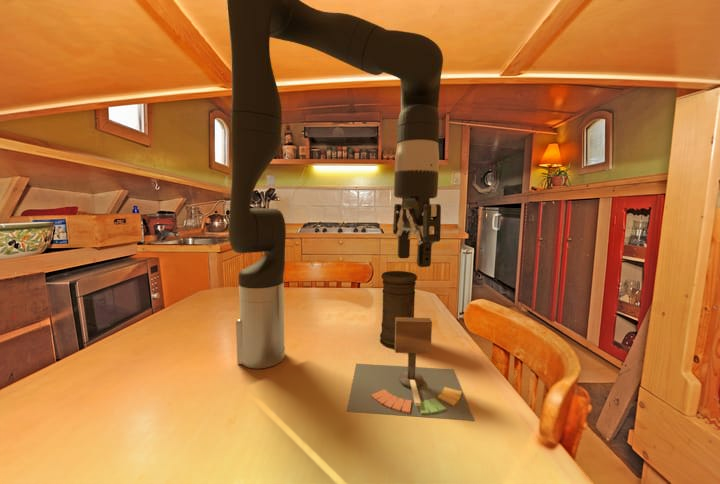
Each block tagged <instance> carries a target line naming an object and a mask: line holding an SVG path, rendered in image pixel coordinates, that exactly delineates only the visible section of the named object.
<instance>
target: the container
mask: <svg viewBox="0 0 720 484" xmlns="http://www.w3.org/2000/svg"><path fill="white" fill-rule="evenodd" d="M417 276H418V275H417V274H416V273H414V272H410V271H403V270H389V271H385V272H382V273H381V277H380V278H381V279H382V285H383V286H382V316H381V317H382V319H381V324H380V325H381V333H380V334H379V338H380V339H379V342H380V344H381V345H382V346H383V347H385V348H388V349H391V350H395V317H407V318H415V296H416V290H415V288H416V284H417V282H416V281H417V280H418V277H417Z"/></svg>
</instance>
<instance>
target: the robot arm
mask: <svg viewBox="0 0 720 484" xmlns="http://www.w3.org/2000/svg"><path fill="white" fill-rule="evenodd" d="M226 7H227V8H226V11H227V21H228V28H229V31H228V32H229V42H230V52H231V53H230V57H231V59H230V63H231V66H230V67H231V69H230V70H231V107H230V108H231V110H230V111H231V113H230V115H231V116H230V121H231V122H230V128H231V130H230V134H231V163H232V164H231V187H230V188H231V189H230V203H229V216H228V240H229V245H230V247H231V249H232V250H233V252H235V253H237V254H248V253H249V254H250V253H251V254H252V253H253V254H254V253H263V252H264V253H263V255H262V257H260V259H259V260H257V261H256V262H254V263H253V264H251V265H248V266H247V267H244V268H242V269H240V271H239V273H238V297H239V298H238V299H239V301H238V302H239V304H238V305H239V318H238V319H237V320H235V321H236V322H235V331H236V333H235V334H236V335H235V336H236V337H235V338H236V363H237V364H240V365H242V366H243V367H246V368H249V369H254V370H255V369H266V368H269V367H273V366H276V365H277V364H279V363H281V362H282V361H283V360H284V359H285V355H286V354H285V353H286V352H285V351H286V347H285V345H286V344H285V343H286V342H285V295H284V294H285V291H284V290H285V289H284V286H285V285H284V284H285V283H284V276H285V269H286V268H285V267H286V261H285V259H286V240H287V239H286V237H287V236H286V235H287V234H286V232H287V229H286V227H287V226H286V221H285V217H284V214H283V213H282V212H281V210H279V209H277V208H261V207H260V208H259V207H258V208H256V207H255V208H251V203H252V198H253V193H254V192H255V188H256V186H257V184H258V182H259V180H260V178H261V176H262V175H263V173H264V172H265V171H266V169H267V168H268V167H269V165H270V164H271V163H272V161H273V160H274V158H275V157H276V155H277V154H278V151H279V149H280V148H281V143H282V127H283V125H282V124H283V113H282V112H283V111H282V104H281V103H282V102H281V98H280V93H279V89H278V86H277V83H276V78H275V74H274V70H273V66H272V61H271V52H270V43H271V42H270V40H271V39H277V40H281V41H285V42H290V43H295V44H298V45H301V46H305V47H307V48H311V49H313V50H316V51H319V52H320V53H323V54H326V55H328V56H330V57H332V58H333V59H336V60H337V61H341V62H342V63H345V64H347V65H349V66H351V67H353V68H356V69H358V70H360V71H362V72H365V73H367V74H369V75H373V76H380V75H381V74H383V73H384V74H387V75H390V76H393V77H396V78H398V79H399V80H400V81H399V82H400V112H399V115H398V119H397V136H396V137H397V139H396V141H397V142H396V151H395V156H394V157H395V159H394V181H393V182H394V185H393V186H394V187H393V191H394V192H393V196H394V197H395V198H397V199H402V201H401V203H395V204H394V208H393V226H392V233H393V234H394V235H396V238H397V257H398V258H399V259H408V258H410V254H411V253H410V249H411V239H410V238H411V236H412V234H414V235H415V237H416V240H417V243H418V244H417V252H416V253H417V254H416V255H417V256H416V265H417V266H418V267H419V268H429V267H430V266H431V264H432V245H434V244H435V243H438V242H440V241H441V227H442V226H441V224H442V223H441V221H442V216H441V215H442V206H441V204H439V203H438V204H437V203H431V201H430V200H431V199H435V198H437V197H438V190H439V189H438V185H439V169H440V151H439V140H440V139H439V136H440V135H439V134H440V115H439V111H438V110H439V101H440V90H441V89H440V87H441V80H442V79H441V78H442V73H443V72H442V71H443V66H444V56H443V53H442V50H441V48H440V46H439V45H438V44H437V43H436V42H435V41H434V40H433V39H431V38H429V37H427V36H425V35H422V34H420V33H415V32H409V31H402V30H395V29H393V30H392V29H391V30H390V29H386V28H384V27H382V26H380V25H377V24H376V23H374V22H371V21H368V20H366V19H364V18H361V17H358V16H355V15H353V14H348V13H342V12H331V11H323V10H319V9H316V8H314V7H312V6H310V5H308V4H306V3H305V2H303V1H301V0H226ZM270 38H271V39H270Z"/></svg>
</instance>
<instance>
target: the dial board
mask: <svg viewBox="0 0 720 484" xmlns="http://www.w3.org/2000/svg"><path fill="white" fill-rule="evenodd" d="M404 372H408V366H404V365H403V366H402V365H386V364H372V363H370V364H369V363H355V367H354V372H353V378H352V383H351V387H350V393H349V398H348V403H347V406H346V407H347V408H346V413H360V414H361V413H362V414H374V415H388V416H389V415H391V416H399V417H400V416H401V417H402V416H403V417H413V418H414V417H415V418H428V419H442V420H443V419H444V420H445V419H446V420H455V421H456V420H458V421H467V422H470V421H471V422H475V418H474V416H473V413H472V411H471V409H470V406H469V403H468V401H467V399H466V396H465V393H464V392H463V389H462V387H461V383H460V381H459V379H458V376H457V374H456V371H455V369H454V368H441V367H440V368H437V367H433V368H432V367H424V366H423V367H420V366H416V367H415V373H418V374H420V375H421V376H422V377H423V384H422V385H421V386H419V387H417V390H418V394H419V398H420V401H421V406H415V402H414V398H413V394H412V390H411V387H408V386H405V385H403V384H402V383H401V382H400V375H401V374H402V373H404Z"/></svg>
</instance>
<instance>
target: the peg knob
mask: <svg viewBox="0 0 720 484" xmlns="http://www.w3.org/2000/svg"><path fill="white" fill-rule="evenodd" d="M432 327H433V322H432V319H431V318H430V317H414V318H407V317H395V349H394V351H395V352H394V353H396V354H407V355H408V356H407V367H408V372H404V373H402V374H401V375H400V382H401V383H402V384H403V385H405V386H408V387H411V390H412V394H413V398H414V402H415V406H421V401H420V398H419V394H418V390H417V387H419V386H421V385H422V384H423V377H422V376H421V375H420V374H418V373H415V367H417V366H416V365H417V363H416V361H417V354H425V355H426V354H430V355H431V353H432V330H433V328H432Z"/></svg>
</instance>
